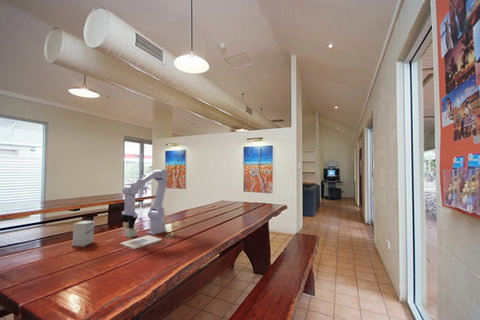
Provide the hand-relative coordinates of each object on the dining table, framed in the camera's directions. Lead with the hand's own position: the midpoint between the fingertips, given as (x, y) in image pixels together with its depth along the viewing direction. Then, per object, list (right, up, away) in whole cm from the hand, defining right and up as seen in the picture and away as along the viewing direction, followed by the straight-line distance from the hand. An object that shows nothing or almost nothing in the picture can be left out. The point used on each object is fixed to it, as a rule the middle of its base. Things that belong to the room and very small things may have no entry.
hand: (129, 227), depth 127 cm
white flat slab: (+8, -8, -1) cm, 12 cm away
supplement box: (-24, -8, -5) cm, 26 cm away
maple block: (0, -2, 0) cm, 2 cm away
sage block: (-4, -9, +11) cm, 15 cm away
